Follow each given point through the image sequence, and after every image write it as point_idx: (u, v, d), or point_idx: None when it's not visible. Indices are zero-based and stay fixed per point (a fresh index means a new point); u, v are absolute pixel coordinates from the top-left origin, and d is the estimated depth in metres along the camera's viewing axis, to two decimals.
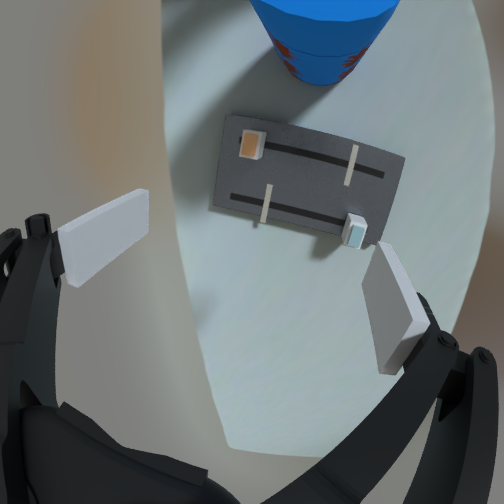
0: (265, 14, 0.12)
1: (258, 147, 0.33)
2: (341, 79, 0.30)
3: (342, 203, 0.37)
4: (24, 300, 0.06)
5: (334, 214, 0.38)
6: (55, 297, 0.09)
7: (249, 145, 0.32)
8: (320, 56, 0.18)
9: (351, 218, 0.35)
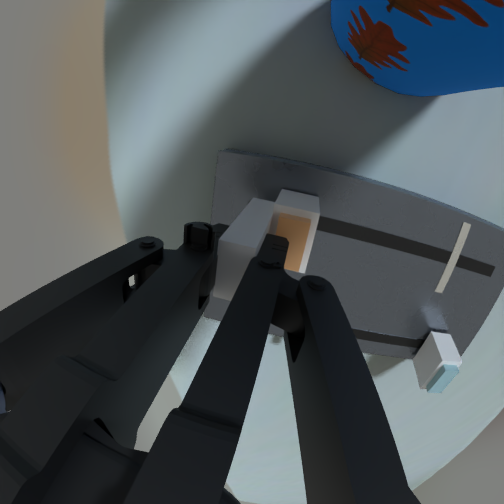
0: None
1: (309, 247, 0.15)
2: None
3: (425, 318, 0.19)
4: (146, 324, 0.06)
5: (409, 334, 0.20)
6: (194, 319, 0.09)
7: (290, 246, 0.14)
8: None
9: (440, 351, 0.17)
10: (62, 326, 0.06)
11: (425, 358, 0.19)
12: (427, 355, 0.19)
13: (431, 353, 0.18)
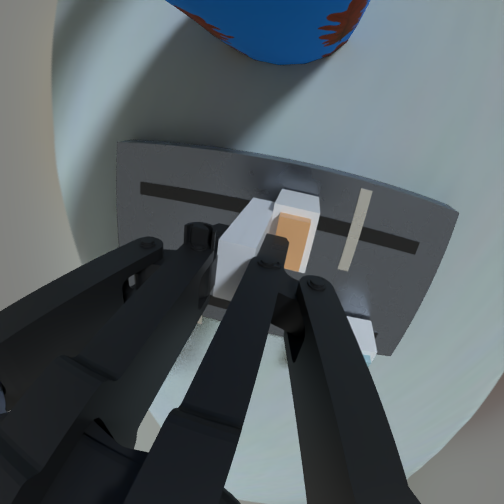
0: None
1: (309, 247, 0.15)
2: (333, 49, 0.13)
3: None
4: (145, 324, 0.06)
5: None
6: (194, 319, 0.09)
7: (290, 246, 0.14)
8: None
9: None
10: (62, 326, 0.06)
11: None
12: None
13: None
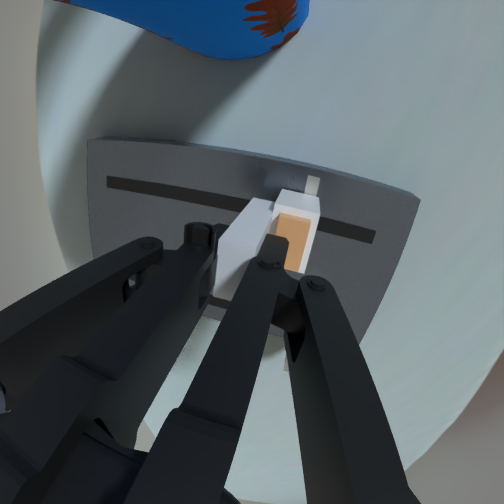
0: None
1: (309, 247, 0.15)
2: (280, 40, 0.14)
3: None
4: (145, 324, 0.06)
5: None
6: (194, 319, 0.09)
7: (290, 246, 0.14)
8: None
9: None
10: (62, 326, 0.06)
11: None
12: None
13: None
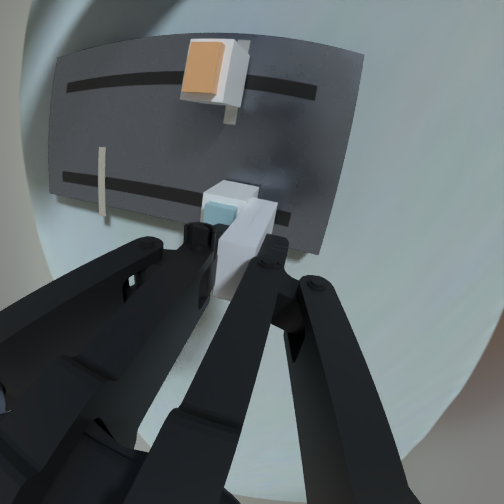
0: None
1: (225, 72, 0.11)
2: None
3: (226, 164, 0.17)
4: (145, 324, 0.06)
5: None
6: (194, 319, 0.09)
7: (201, 67, 0.11)
8: None
9: (213, 188, 0.15)
10: (62, 326, 0.06)
11: None
12: None
13: None
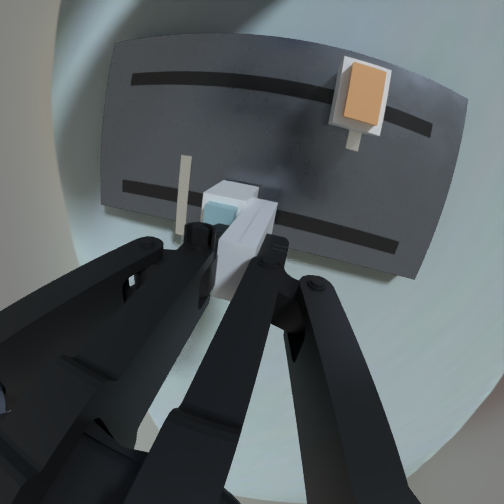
0: None
1: (383, 104, 0.11)
2: None
3: (344, 190, 0.17)
4: (145, 324, 0.06)
5: (326, 215, 0.17)
6: (194, 319, 0.09)
7: (366, 94, 0.10)
8: None
9: (213, 188, 0.15)
10: (62, 326, 0.06)
11: None
12: None
13: None
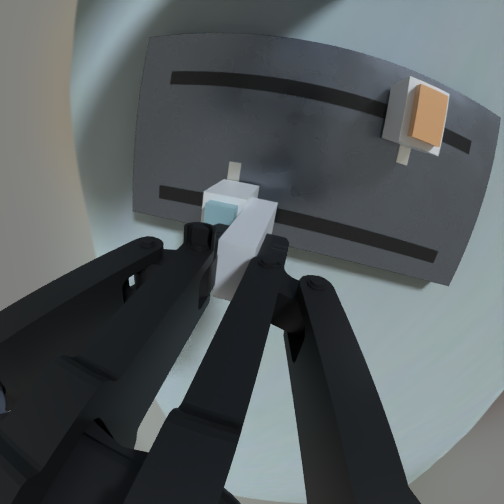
0: None
1: None
2: None
3: (393, 202, 0.16)
4: (145, 324, 0.06)
5: (375, 226, 0.17)
6: (194, 319, 0.09)
7: (432, 116, 0.10)
8: None
9: (213, 187, 0.15)
10: (62, 326, 0.06)
11: None
12: None
13: None
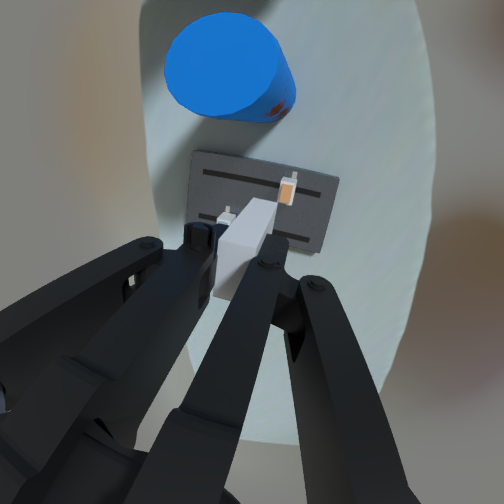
0: None
1: (293, 195, 0.42)
2: (283, 116, 0.41)
3: (286, 219, 0.48)
4: (145, 324, 0.06)
5: (280, 228, 0.49)
6: (194, 319, 0.09)
7: (286, 194, 0.42)
8: None
9: (220, 216, 0.47)
10: (62, 326, 0.06)
11: None
12: None
13: None
